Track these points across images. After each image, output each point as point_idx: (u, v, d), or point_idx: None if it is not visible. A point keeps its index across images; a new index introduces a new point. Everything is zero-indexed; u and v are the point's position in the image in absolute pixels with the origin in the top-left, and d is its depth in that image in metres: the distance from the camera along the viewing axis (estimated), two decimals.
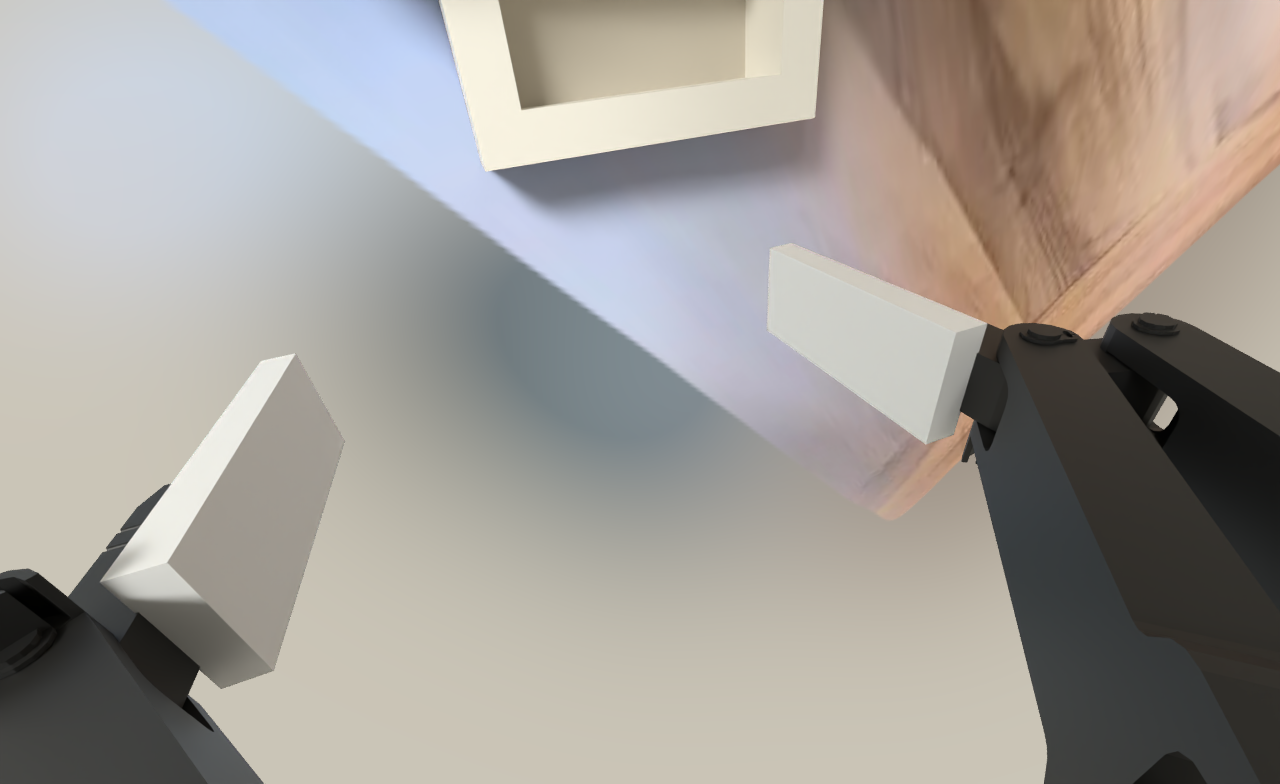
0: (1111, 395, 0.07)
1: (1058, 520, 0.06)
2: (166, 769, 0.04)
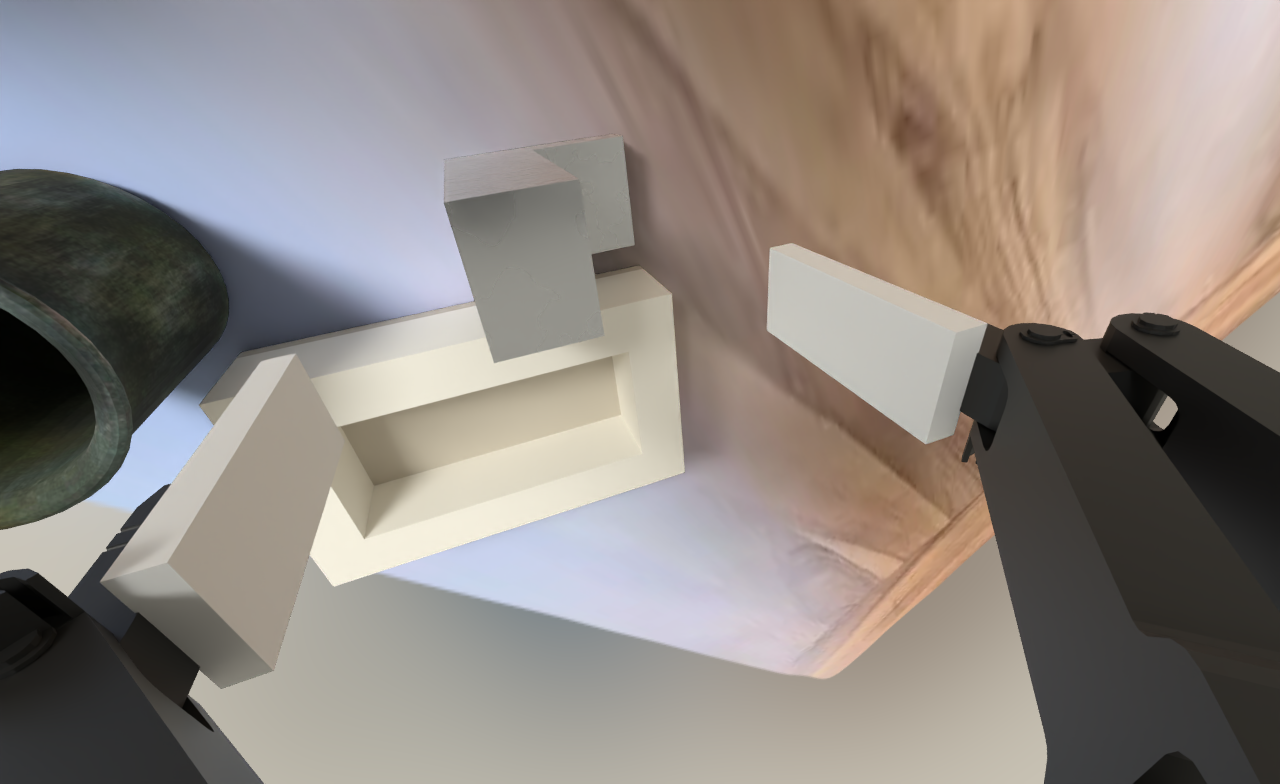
0: (1111, 395, 0.07)
1: (1059, 519, 0.06)
2: (166, 769, 0.04)
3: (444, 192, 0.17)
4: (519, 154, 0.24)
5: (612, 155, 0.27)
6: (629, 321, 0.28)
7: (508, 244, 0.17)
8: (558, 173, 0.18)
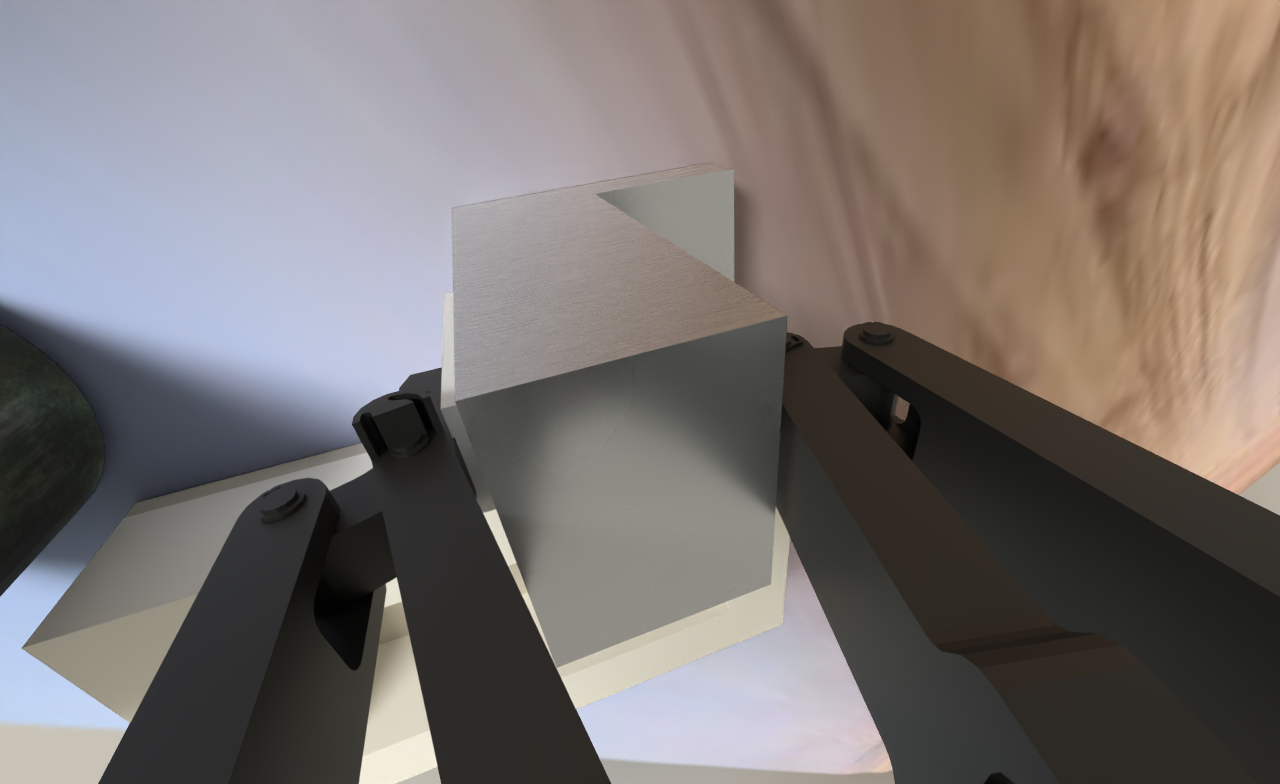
0: (841, 391, 0.08)
1: (839, 529, 0.06)
2: (488, 554, 0.06)
3: (455, 335, 0.07)
4: (577, 204, 0.15)
5: (716, 199, 0.17)
6: None
7: (608, 466, 0.07)
8: (704, 278, 0.08)
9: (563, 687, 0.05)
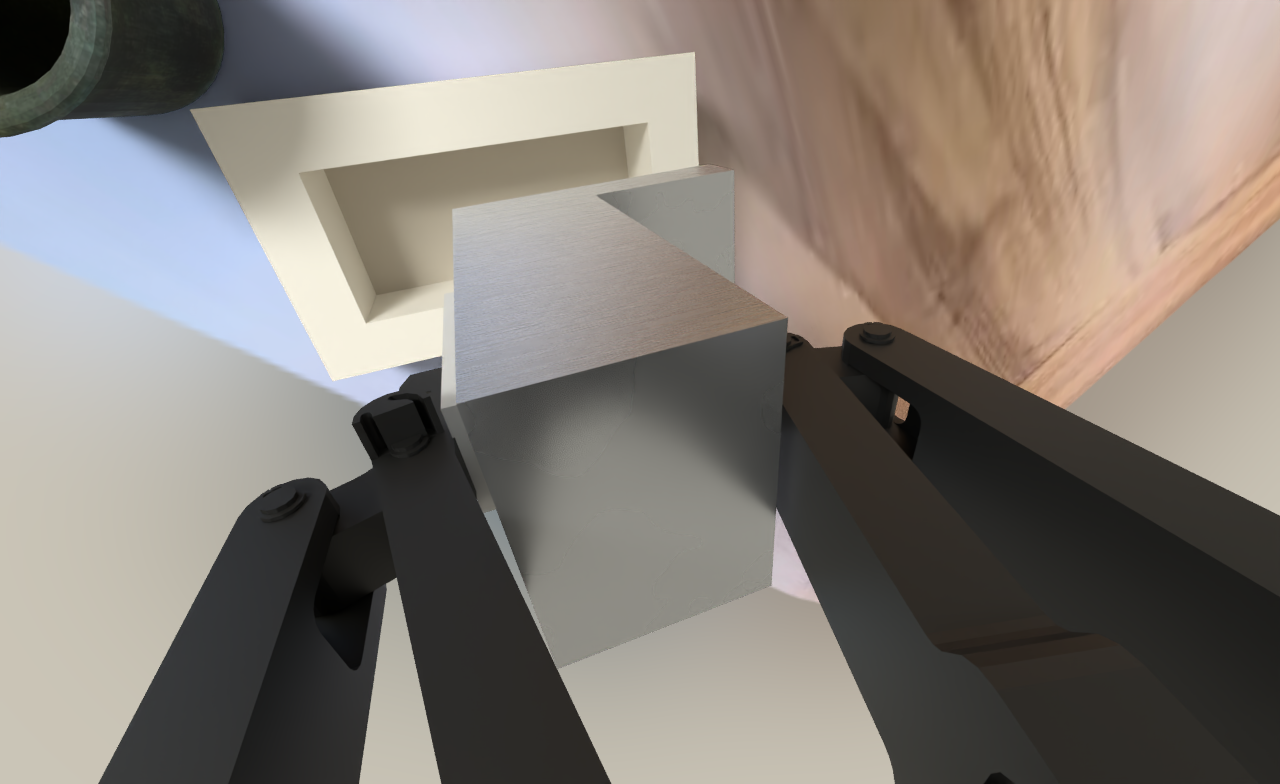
0: (841, 391, 0.08)
1: (839, 529, 0.06)
2: (488, 554, 0.06)
3: (456, 337, 0.07)
4: (577, 205, 0.15)
5: (716, 199, 0.17)
6: (650, 82, 0.26)
7: (608, 467, 0.07)
8: (704, 280, 0.08)
9: (563, 687, 0.05)
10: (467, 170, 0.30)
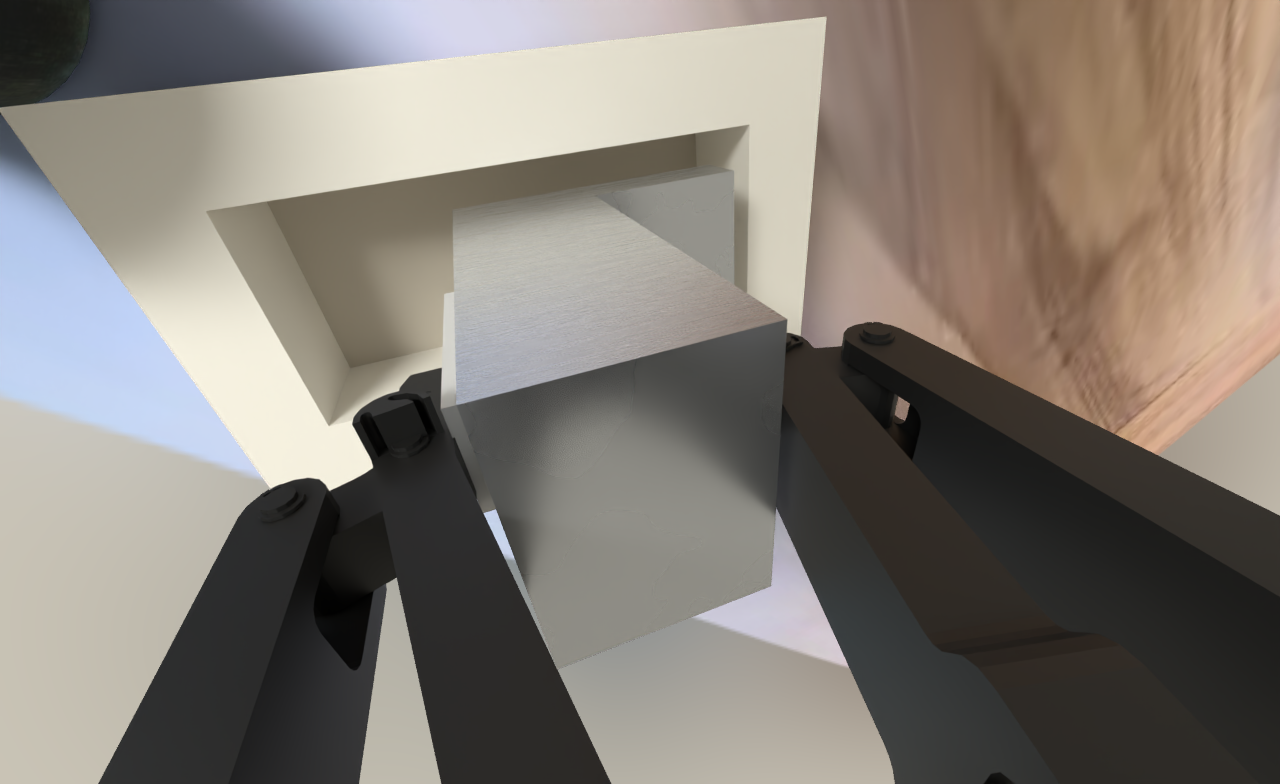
0: (841, 391, 0.08)
1: (839, 529, 0.06)
2: (488, 554, 0.06)
3: (456, 339, 0.07)
4: (577, 205, 0.15)
5: (715, 200, 0.17)
6: (757, 63, 0.17)
7: (609, 469, 0.07)
8: (704, 281, 0.08)
9: (563, 687, 0.05)
10: (477, 195, 0.21)
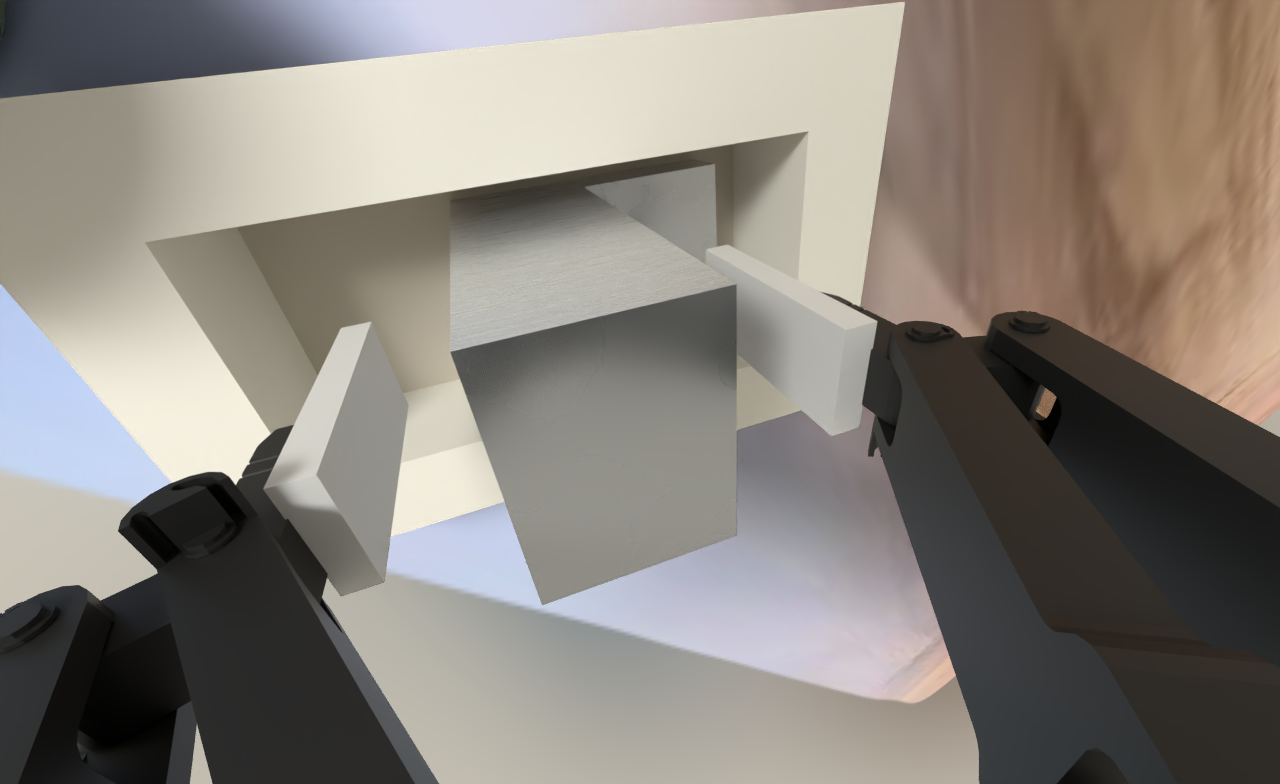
0: (989, 386, 0.08)
1: (962, 514, 0.06)
2: (318, 653, 0.05)
3: (451, 304, 0.08)
4: (566, 196, 0.16)
5: (698, 192, 0.18)
6: (822, 57, 0.14)
7: (583, 415, 0.08)
8: (671, 256, 0.09)
9: None
10: None
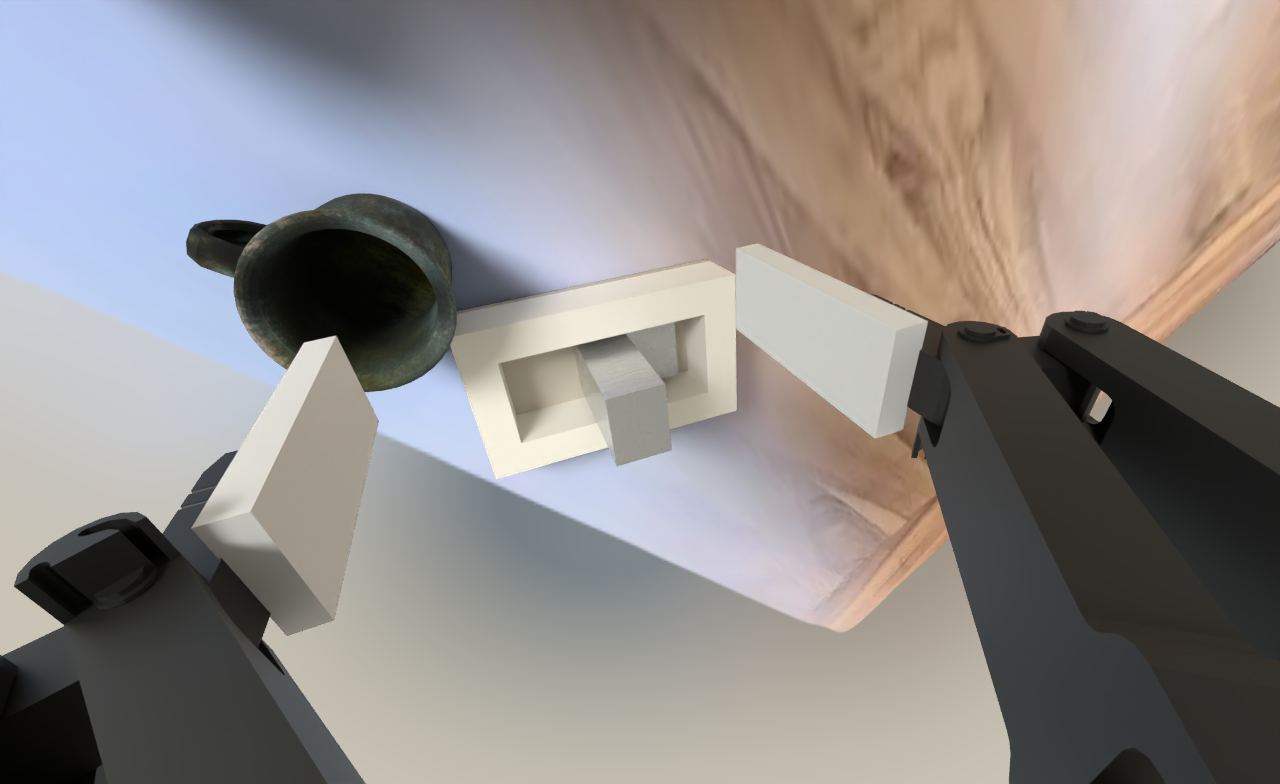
0: (1045, 389, 0.08)
1: (1007, 515, 0.06)
2: (250, 701, 0.05)
3: (598, 387, 0.36)
4: (617, 336, 0.43)
5: (667, 328, 0.45)
6: (706, 293, 0.42)
7: (630, 413, 0.35)
8: (651, 373, 0.36)
9: None
10: None
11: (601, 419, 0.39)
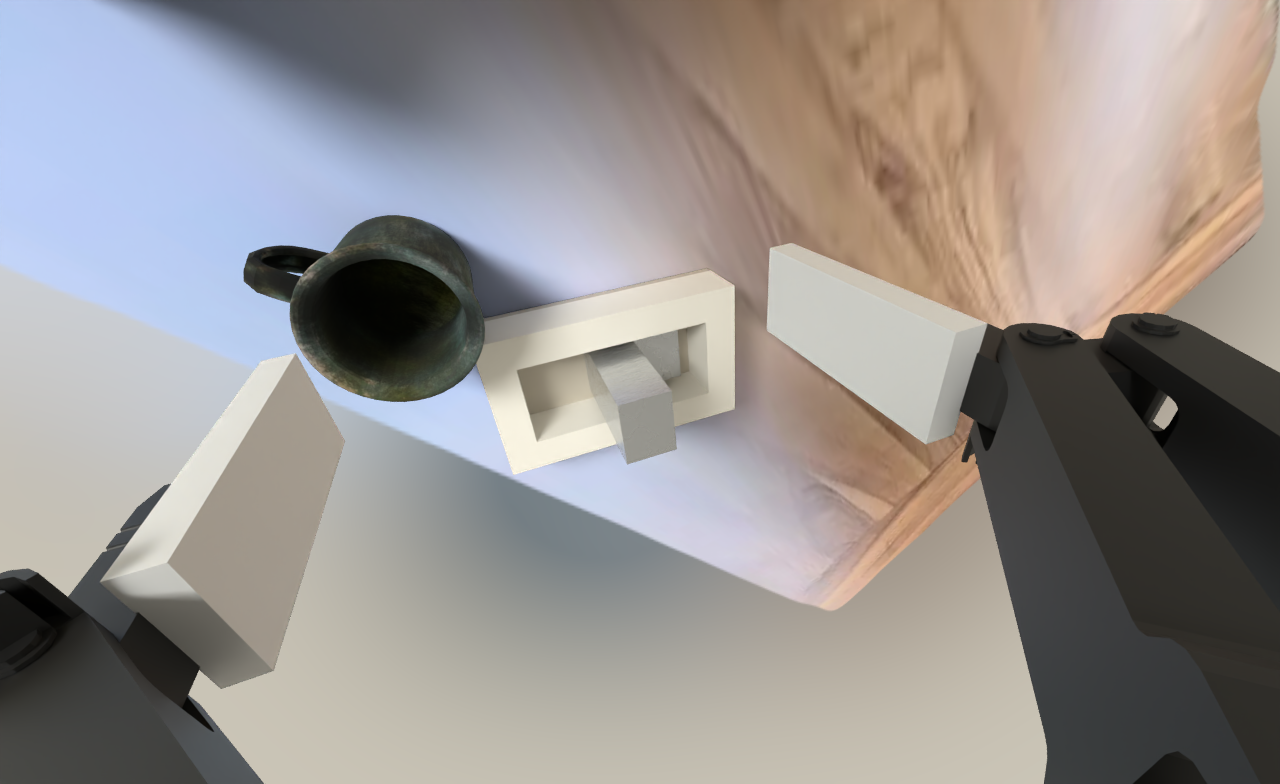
0: (1111, 395, 0.07)
1: (1058, 519, 0.06)
2: (166, 769, 0.04)
3: (610, 393, 0.39)
4: None
5: (671, 333, 0.49)
6: (708, 303, 0.45)
7: (640, 417, 0.39)
8: (658, 380, 0.40)
9: None
10: None
11: (612, 421, 0.42)
